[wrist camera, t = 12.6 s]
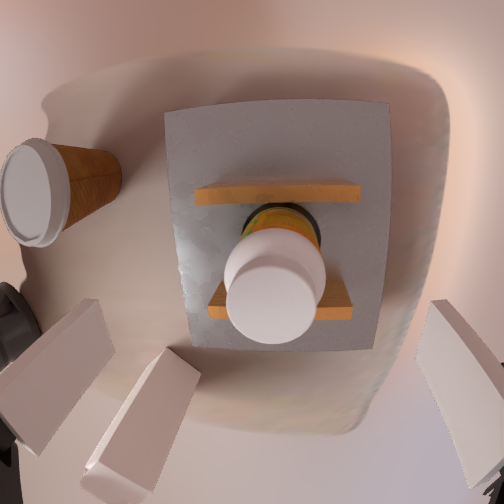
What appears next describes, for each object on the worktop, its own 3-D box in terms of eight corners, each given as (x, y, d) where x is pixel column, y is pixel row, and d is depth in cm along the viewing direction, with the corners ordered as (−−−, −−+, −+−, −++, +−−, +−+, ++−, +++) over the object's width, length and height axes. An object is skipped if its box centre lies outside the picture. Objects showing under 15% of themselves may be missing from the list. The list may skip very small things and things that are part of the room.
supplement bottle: (253, 197, 20) (221, 233, 11) (325, 217, 20) (351, 268, 11) (237, 264, 22) (201, 339, 13) (304, 282, 22) (309, 366, 13)
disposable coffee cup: (67, 204, 30) (-5, 230, 18) (81, 130, 26) (3, 132, 15) (124, 229, 30) (52, 269, 18) (144, 147, 26) (64, 149, 15)
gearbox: (208, 315, 32) (179, 373, 22) (189, 120, 25) (138, 105, 15) (360, 315, 29) (381, 377, 20) (368, 114, 22) (409, 93, 13)
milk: (179, 389, 37) (122, 515, 16) (146, 365, 36) (72, 486, 16) (202, 372, 35) (143, 518, 14) (166, 345, 34) (83, 485, 14)
